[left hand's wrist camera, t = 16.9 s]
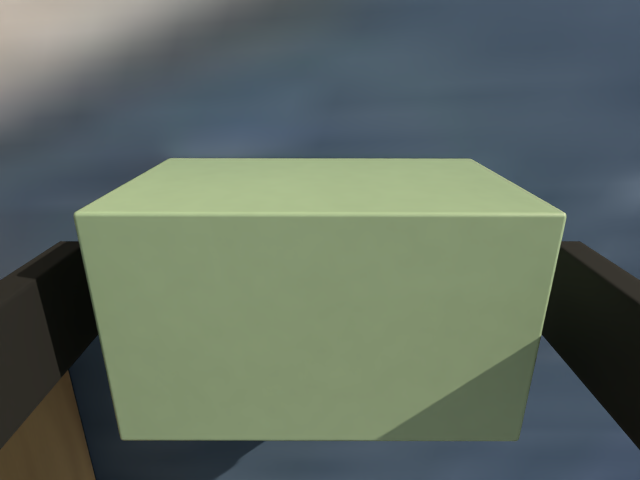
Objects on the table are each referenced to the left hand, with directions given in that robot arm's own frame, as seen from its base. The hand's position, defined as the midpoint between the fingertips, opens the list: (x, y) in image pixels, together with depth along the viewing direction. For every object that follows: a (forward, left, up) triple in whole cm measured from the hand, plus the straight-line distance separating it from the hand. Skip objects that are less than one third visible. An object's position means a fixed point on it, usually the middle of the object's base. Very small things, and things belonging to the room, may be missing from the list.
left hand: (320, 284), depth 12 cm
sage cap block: (0, 0, -3) cm, 3 cm away
